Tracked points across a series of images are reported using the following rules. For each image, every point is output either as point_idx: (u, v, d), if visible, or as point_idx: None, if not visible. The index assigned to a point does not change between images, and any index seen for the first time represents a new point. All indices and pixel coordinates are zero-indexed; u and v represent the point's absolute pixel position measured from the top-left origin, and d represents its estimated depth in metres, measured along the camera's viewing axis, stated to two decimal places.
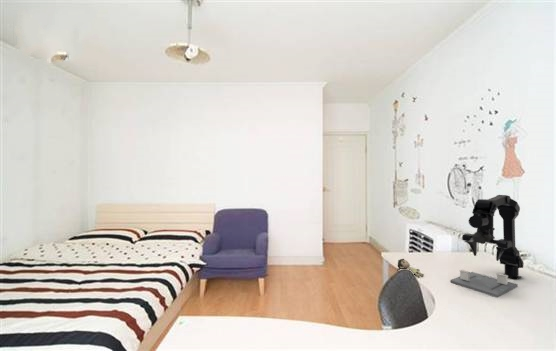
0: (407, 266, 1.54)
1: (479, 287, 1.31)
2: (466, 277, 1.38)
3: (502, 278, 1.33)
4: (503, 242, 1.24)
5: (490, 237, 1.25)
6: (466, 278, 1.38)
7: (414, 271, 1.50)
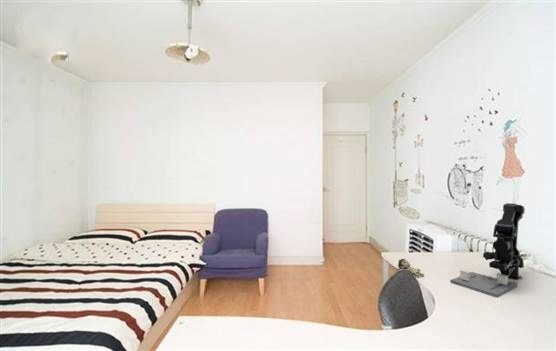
0: (407, 266, 1.54)
1: (479, 287, 1.31)
2: (466, 277, 1.38)
3: (502, 278, 1.33)
4: None
5: (486, 255, 1.39)
6: (466, 278, 1.38)
7: (414, 271, 1.49)
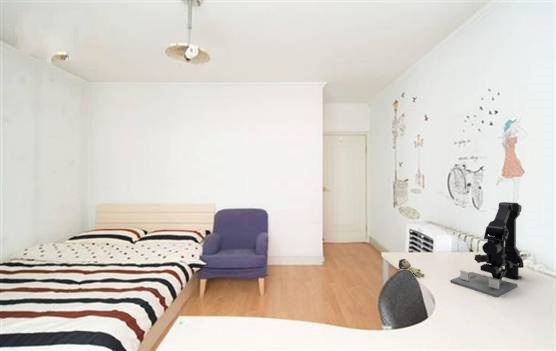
0: (408, 266, 1.54)
1: (479, 287, 1.31)
2: (466, 277, 1.38)
3: (494, 282, 1.29)
4: (482, 265, 1.29)
5: (478, 257, 1.34)
6: (466, 278, 1.38)
7: (415, 271, 1.49)
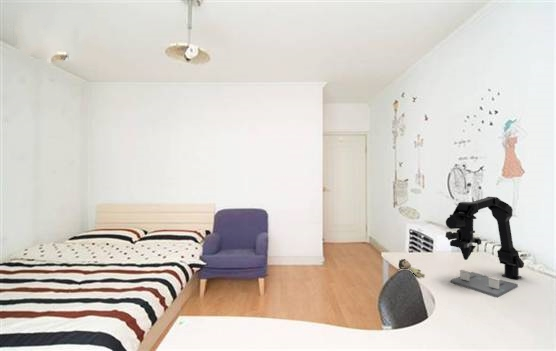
0: (408, 266, 1.54)
1: (479, 287, 1.31)
2: (466, 277, 1.38)
3: (494, 282, 1.29)
4: None
5: (448, 234, 1.38)
6: (466, 278, 1.38)
7: (415, 271, 1.49)
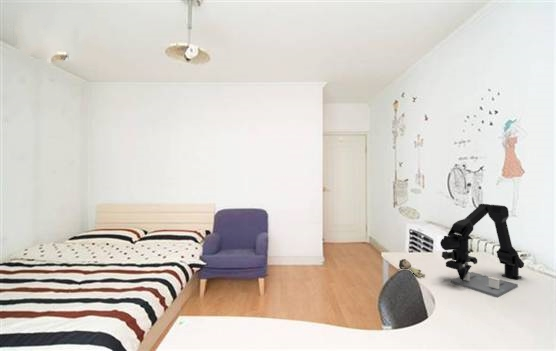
0: (408, 266, 1.54)
1: (479, 287, 1.31)
2: (466, 277, 1.38)
3: (494, 282, 1.29)
4: None
5: (444, 254, 1.41)
6: (466, 278, 1.38)
7: (415, 272, 1.49)
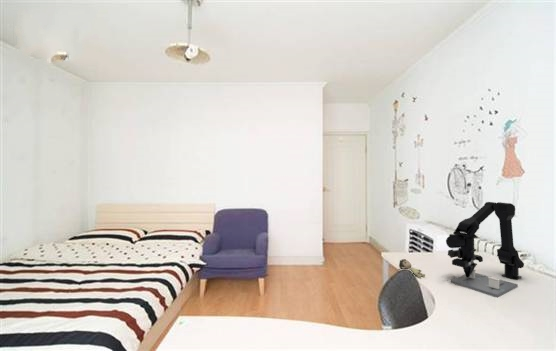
0: (408, 266, 1.54)
1: (479, 287, 1.31)
2: (472, 275, 1.41)
3: (494, 282, 1.29)
4: None
5: (450, 253, 1.44)
6: (472, 276, 1.41)
7: (415, 272, 1.49)
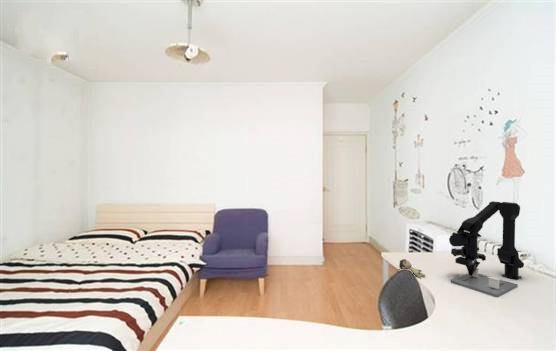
0: (409, 267, 1.54)
1: (479, 287, 1.31)
2: (475, 274, 1.43)
3: (494, 282, 1.29)
4: (457, 258, 1.41)
5: (454, 251, 1.45)
6: (475, 275, 1.43)
7: (415, 272, 1.49)
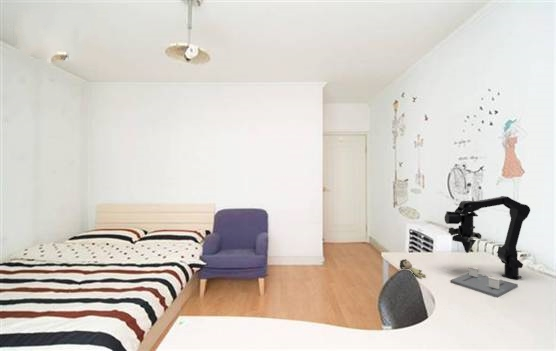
0: (409, 267, 1.53)
1: (479, 287, 1.31)
2: (475, 274, 1.43)
3: (494, 282, 1.29)
4: (454, 235, 1.49)
5: (451, 230, 1.53)
6: (475, 275, 1.43)
7: (416, 272, 1.49)
